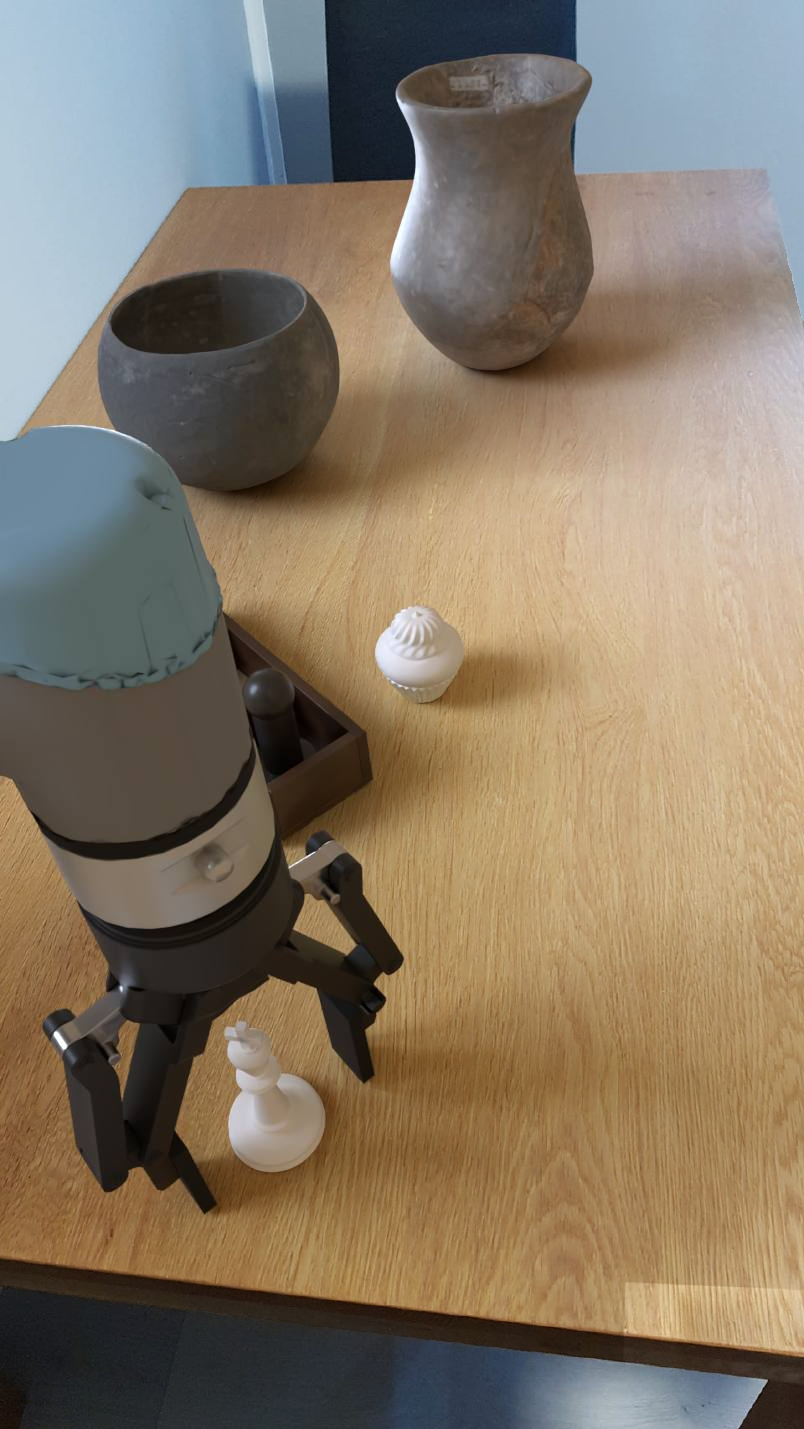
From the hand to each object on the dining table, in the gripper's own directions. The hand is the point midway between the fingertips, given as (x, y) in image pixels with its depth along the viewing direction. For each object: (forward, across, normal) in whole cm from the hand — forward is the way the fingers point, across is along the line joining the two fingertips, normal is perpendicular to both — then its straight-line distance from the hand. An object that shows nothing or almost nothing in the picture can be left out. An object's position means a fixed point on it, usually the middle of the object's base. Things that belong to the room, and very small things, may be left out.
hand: (277, 1122), depth 54 cm
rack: (0, +14, +26) cm, 30 cm away
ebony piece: (0, +14, +19) cm, 23 cm away
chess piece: (0, 0, 0) cm, 0 cm away
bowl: (0, +33, +53) cm, 62 cm away
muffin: (0, +26, +19) cm, 32 cm away
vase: (0, +63, +51) cm, 81 cm away
